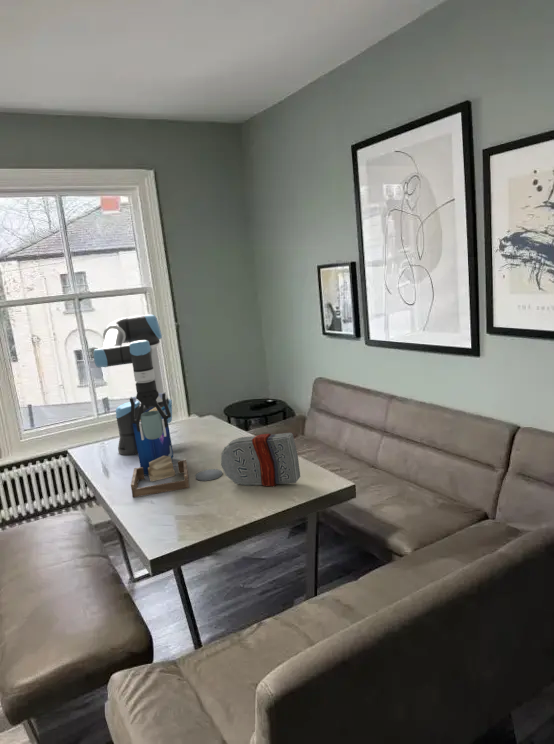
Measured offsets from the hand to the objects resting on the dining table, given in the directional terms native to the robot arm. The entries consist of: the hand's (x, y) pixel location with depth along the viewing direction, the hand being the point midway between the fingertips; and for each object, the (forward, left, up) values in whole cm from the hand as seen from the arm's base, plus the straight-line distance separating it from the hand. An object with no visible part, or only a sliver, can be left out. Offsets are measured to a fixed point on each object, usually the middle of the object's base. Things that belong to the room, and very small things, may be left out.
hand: (154, 437), depth 218 cm
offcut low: (-9, 0, -20) cm, 22 cm away
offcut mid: (-9, 0, -18) cm, 20 cm away
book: (-22, -2, -20) cm, 30 cm away
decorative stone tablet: (+17, +38, -20) cm, 46 cm away
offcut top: (-9, 0, -15) cm, 17 cm away
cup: (0, 0, -1) cm, 1 cm away
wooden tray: (-1, 0, -20) cm, 20 cm away
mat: (-1, +19, -20) cm, 27 cm away
